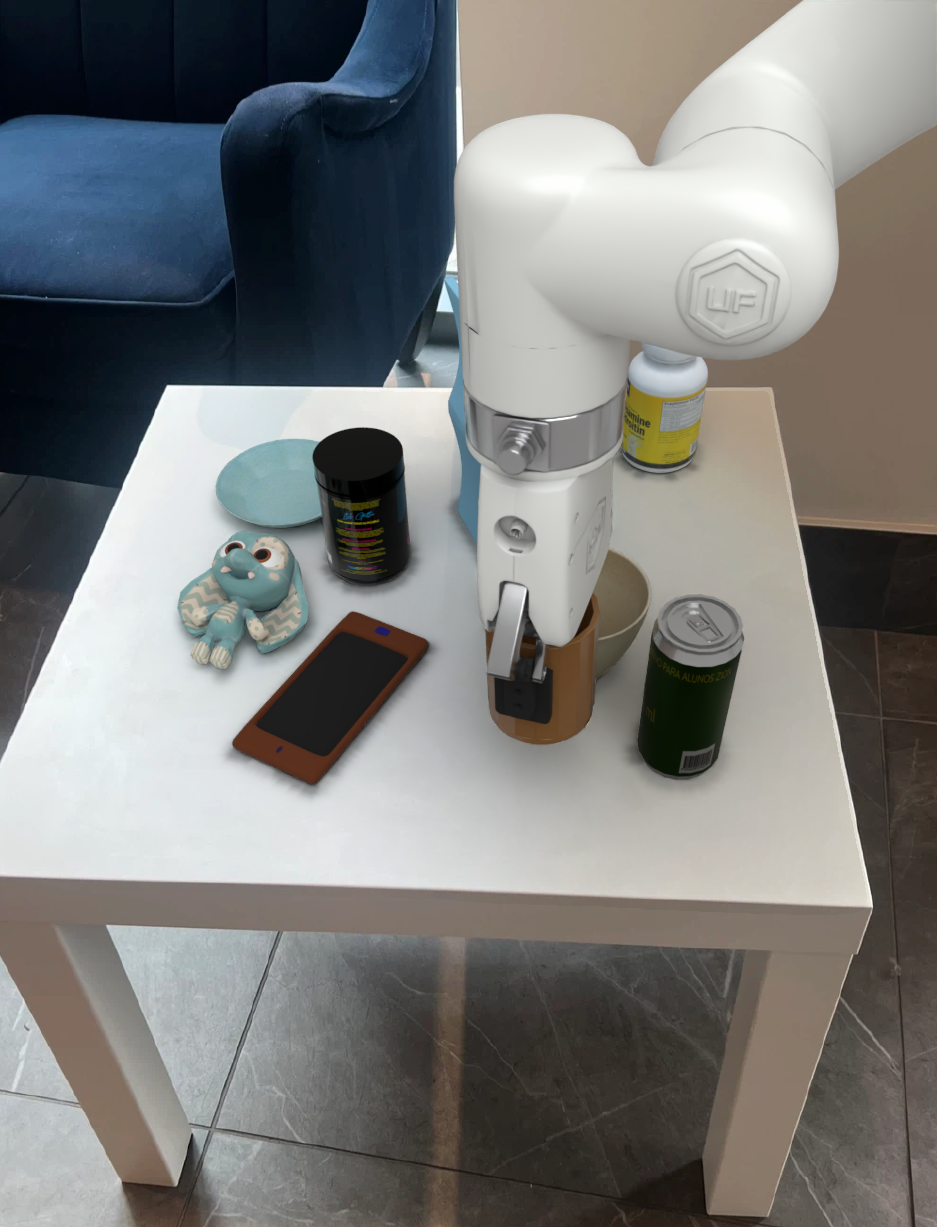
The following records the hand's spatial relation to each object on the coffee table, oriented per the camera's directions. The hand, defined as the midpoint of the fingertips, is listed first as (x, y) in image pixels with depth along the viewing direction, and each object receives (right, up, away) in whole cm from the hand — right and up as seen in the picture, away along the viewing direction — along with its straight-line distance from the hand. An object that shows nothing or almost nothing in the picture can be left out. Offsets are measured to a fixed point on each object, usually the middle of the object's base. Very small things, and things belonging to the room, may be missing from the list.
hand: (541, 670), depth 65 cm
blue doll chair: (+1, +13, +27) cm, 30 cm away
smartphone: (-13, -2, +14) cm, 19 cm away
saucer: (-18, +15, +30) cm, 38 cm away
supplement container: (-11, +9, +24) cm, 28 cm away
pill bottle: (+14, +19, +32) cm, 40 cm away
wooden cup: (0, -2, +2) cm, 3 cm away
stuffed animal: (-20, +4, +20) cm, 29 cm away
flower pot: (+4, +1, +15) cm, 16 cm away
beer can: (+10, -5, +9) cm, 15 cm away
